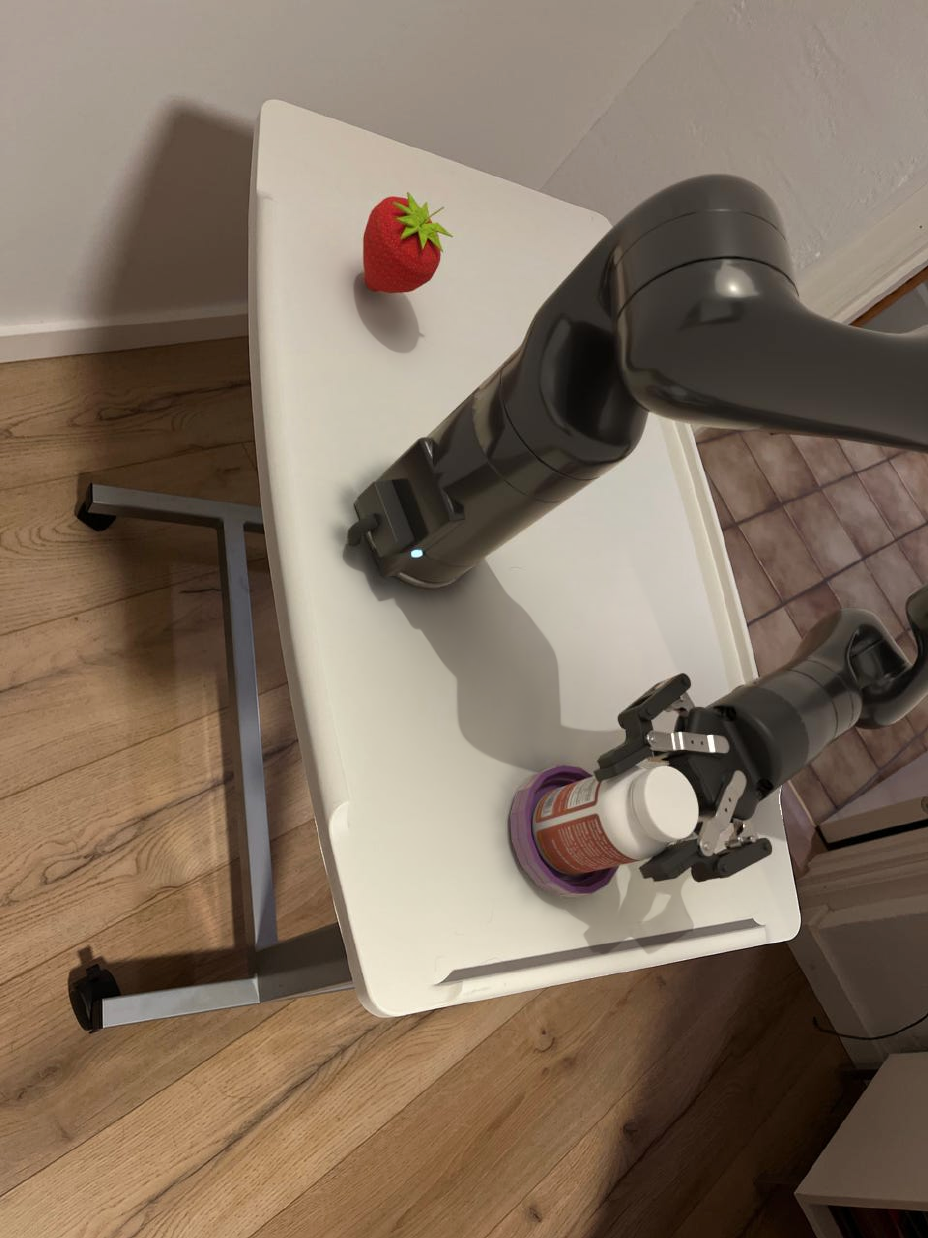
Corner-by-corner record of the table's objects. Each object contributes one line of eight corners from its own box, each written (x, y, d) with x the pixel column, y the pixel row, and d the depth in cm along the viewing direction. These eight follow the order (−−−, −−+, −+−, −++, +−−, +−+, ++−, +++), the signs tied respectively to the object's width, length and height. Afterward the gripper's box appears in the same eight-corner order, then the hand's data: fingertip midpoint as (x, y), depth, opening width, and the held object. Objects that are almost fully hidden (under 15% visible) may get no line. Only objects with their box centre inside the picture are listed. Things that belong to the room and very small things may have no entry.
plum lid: (535, 917, 62) (555, 914, 60) (488, 793, 64) (506, 786, 62) (619, 870, 68) (640, 866, 66) (574, 757, 69) (593, 750, 68)
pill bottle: (599, 876, 66) (715, 854, 57) (532, 875, 63) (644, 851, 54) (590, 791, 68) (699, 757, 60) (524, 786, 65) (630, 750, 56)
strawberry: (389, 254, 78) (452, 169, 70) (411, 329, 76) (478, 251, 68) (329, 241, 74) (388, 150, 67) (350, 319, 72) (414, 235, 65)
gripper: (759, 629, 66) (616, 703, 55) (852, 811, 64) (724, 925, 53) (683, 661, 71) (541, 734, 61) (767, 830, 70) (636, 935, 59)
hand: (627, 823), depth 57 cm, fingers closed on pill bottle, 6 cm apart
